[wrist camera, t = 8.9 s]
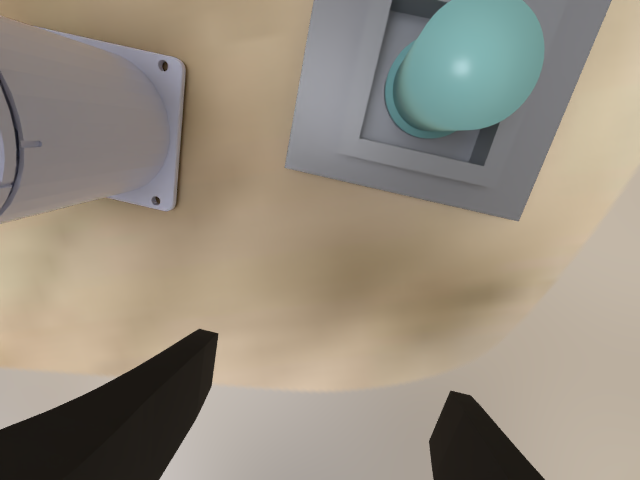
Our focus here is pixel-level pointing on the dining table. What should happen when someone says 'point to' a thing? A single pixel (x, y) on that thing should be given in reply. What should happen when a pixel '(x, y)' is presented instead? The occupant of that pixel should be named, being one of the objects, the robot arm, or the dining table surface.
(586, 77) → the dining table surface
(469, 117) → the teal rounded piece
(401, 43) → the housing
